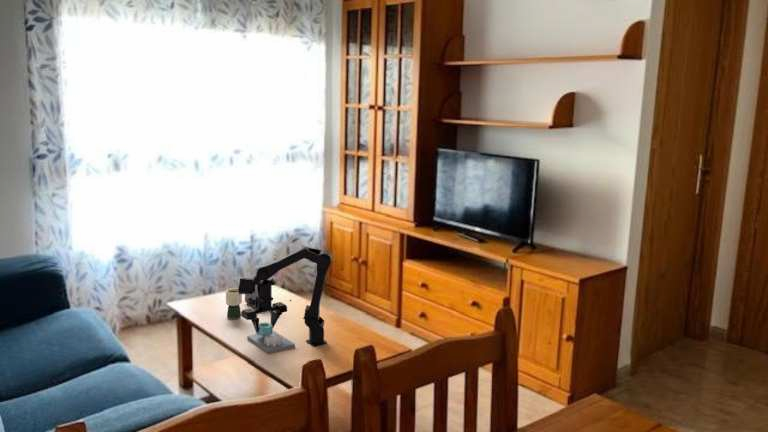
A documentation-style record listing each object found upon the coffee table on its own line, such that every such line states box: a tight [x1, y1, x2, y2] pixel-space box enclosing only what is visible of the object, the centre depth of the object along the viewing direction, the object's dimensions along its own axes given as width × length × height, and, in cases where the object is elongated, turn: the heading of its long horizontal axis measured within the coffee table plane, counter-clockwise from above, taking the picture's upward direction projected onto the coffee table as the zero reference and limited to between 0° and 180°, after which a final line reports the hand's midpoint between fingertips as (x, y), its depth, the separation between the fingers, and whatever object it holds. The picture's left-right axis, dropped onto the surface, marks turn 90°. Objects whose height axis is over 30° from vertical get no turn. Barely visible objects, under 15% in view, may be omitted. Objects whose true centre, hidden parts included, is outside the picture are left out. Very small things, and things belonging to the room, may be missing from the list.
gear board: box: [246, 330, 296, 355], centre depth 268 cm, size 18×12×6 cm, turn 40°
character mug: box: [225, 287, 243, 319], centre depth 294 cm, size 11×7×13 cm, turn 36°
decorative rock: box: [244, 276, 263, 309], centre depth 310 cm, size 16×7×15 cm, turn 39°
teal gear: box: [255, 321, 274, 336], centre depth 270 cm, size 7×7×4 cm
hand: (264, 330), depth 270 cm, fingers closed on teal gear, 7 cm apart
